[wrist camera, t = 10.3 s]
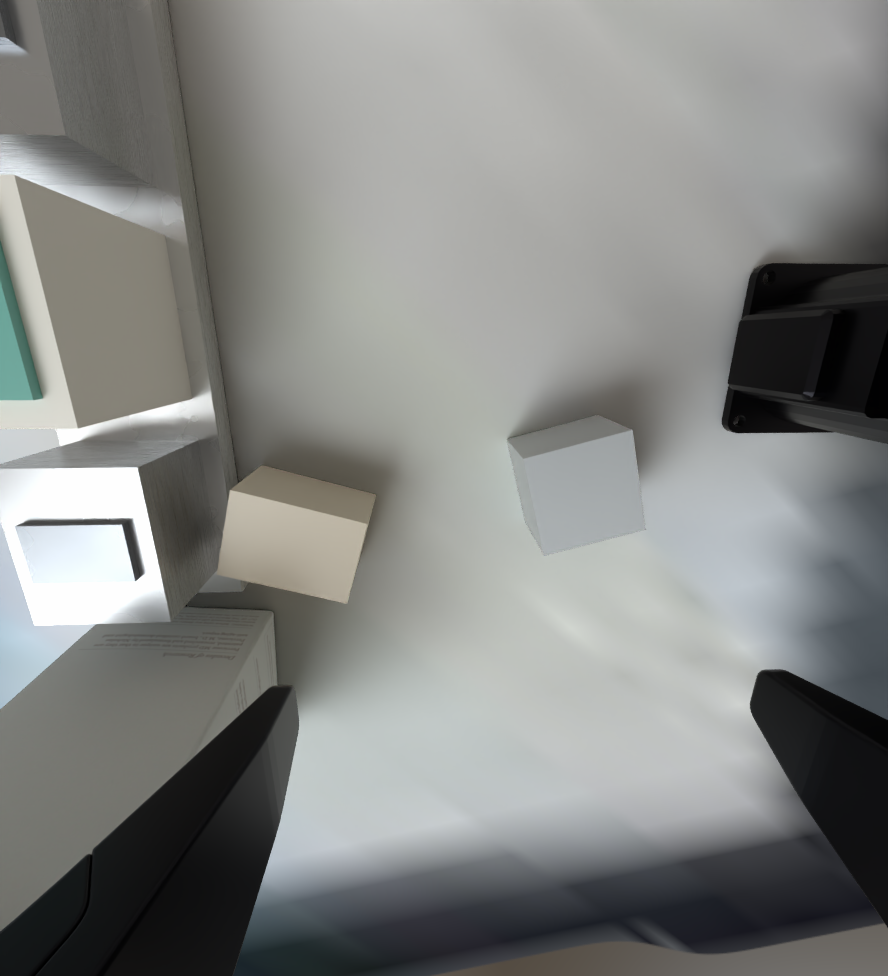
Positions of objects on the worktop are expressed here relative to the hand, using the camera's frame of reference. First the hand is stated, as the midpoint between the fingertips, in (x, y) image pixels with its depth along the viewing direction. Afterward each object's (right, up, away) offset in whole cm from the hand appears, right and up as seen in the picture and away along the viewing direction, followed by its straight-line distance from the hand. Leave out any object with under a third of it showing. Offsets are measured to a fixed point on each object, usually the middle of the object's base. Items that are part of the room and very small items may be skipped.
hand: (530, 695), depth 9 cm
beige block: (-8, +3, +12) cm, 14 cm away
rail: (-14, +10, +9) cm, 19 cm away
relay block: (+3, +5, +11) cm, 13 cm away
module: (-13, +10, +8) cm, 18 cm away
